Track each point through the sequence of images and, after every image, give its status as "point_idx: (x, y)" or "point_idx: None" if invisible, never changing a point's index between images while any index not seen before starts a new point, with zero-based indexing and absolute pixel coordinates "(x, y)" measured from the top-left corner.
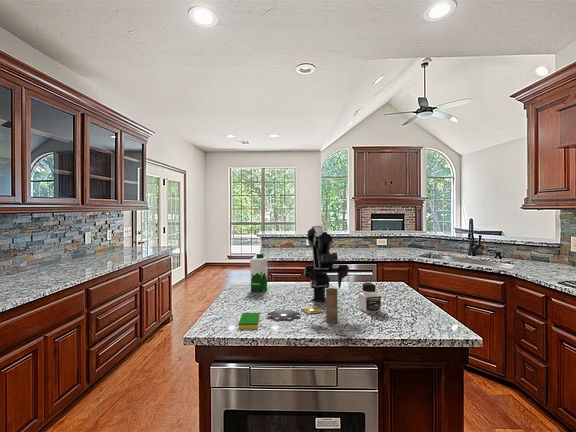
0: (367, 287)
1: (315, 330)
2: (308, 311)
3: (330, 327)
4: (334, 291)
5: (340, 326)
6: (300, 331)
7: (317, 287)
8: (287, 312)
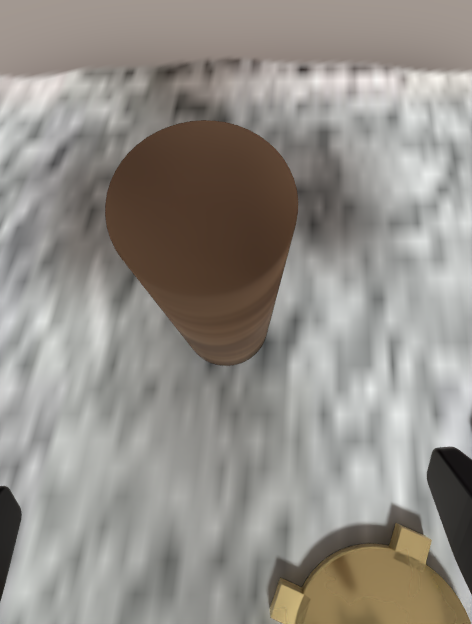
0: None
1: (344, 171)
2: (420, 564)
3: None
4: (169, 135)
5: None
6: (435, 155)
7: (451, 452)
8: None
